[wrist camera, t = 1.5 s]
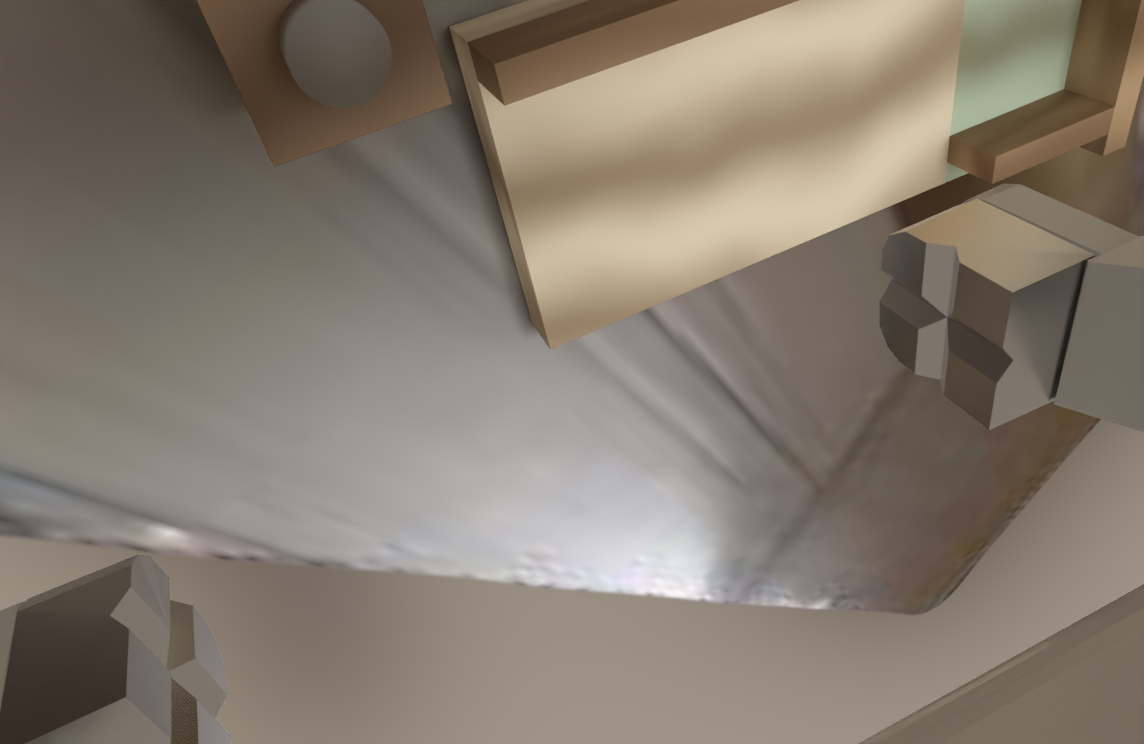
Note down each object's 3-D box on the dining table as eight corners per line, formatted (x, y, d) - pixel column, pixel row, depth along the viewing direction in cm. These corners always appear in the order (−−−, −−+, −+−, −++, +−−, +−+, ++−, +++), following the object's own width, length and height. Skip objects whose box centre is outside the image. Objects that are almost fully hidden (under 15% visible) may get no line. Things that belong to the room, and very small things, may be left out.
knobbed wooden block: (173, -70, 22) (181, -25, 17) (351, -122, 23) (407, -93, 18) (254, 108, 25) (281, 188, 20) (408, 56, 26) (469, 121, 21)
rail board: (448, 26, 26) (494, 64, 23) (1095, -190, 31) (1212, -185, 27) (532, 323, 34) (575, 385, 30) (1039, 113, 38) (1125, 146, 35)
